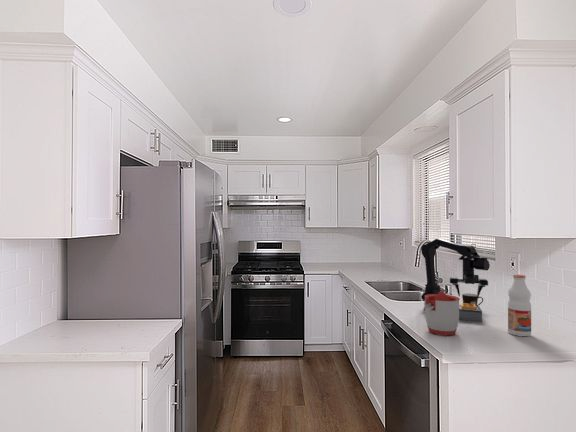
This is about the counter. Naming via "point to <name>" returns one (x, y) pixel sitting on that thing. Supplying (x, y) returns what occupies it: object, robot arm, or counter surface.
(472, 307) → the grey square box
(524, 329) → the fruit juice
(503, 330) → the counter surface
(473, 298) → the coffee mug
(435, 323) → the citrus juicer
